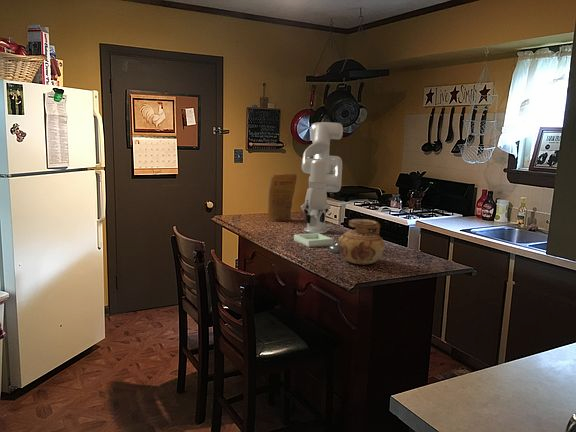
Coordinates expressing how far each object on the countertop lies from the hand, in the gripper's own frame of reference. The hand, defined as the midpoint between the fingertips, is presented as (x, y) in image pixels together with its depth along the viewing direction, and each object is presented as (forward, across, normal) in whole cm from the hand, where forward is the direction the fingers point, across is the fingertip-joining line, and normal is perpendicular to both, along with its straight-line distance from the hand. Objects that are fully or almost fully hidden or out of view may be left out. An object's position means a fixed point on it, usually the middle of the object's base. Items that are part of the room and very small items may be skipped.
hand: (314, 222), depth 233 cm
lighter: (+2, 0, 0) cm, 2 cm away
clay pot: (+11, -1, +36) cm, 37 cm away
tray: (+10, 0, 0) cm, 10 cm away
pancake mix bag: (+10, -11, -56) cm, 58 cm away
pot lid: (+10, -2, +18) cm, 21 cm away
